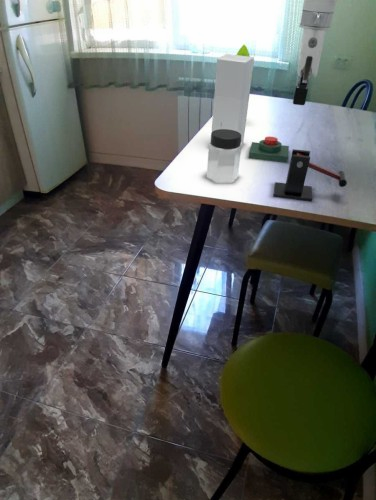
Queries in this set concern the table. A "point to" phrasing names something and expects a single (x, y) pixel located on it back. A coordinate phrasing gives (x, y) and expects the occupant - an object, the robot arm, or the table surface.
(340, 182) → the red lever handle
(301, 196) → the lever stand
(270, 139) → the button
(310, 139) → the table surface
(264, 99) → the table surface
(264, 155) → the button box
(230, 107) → the tall white carton
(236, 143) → the jar
